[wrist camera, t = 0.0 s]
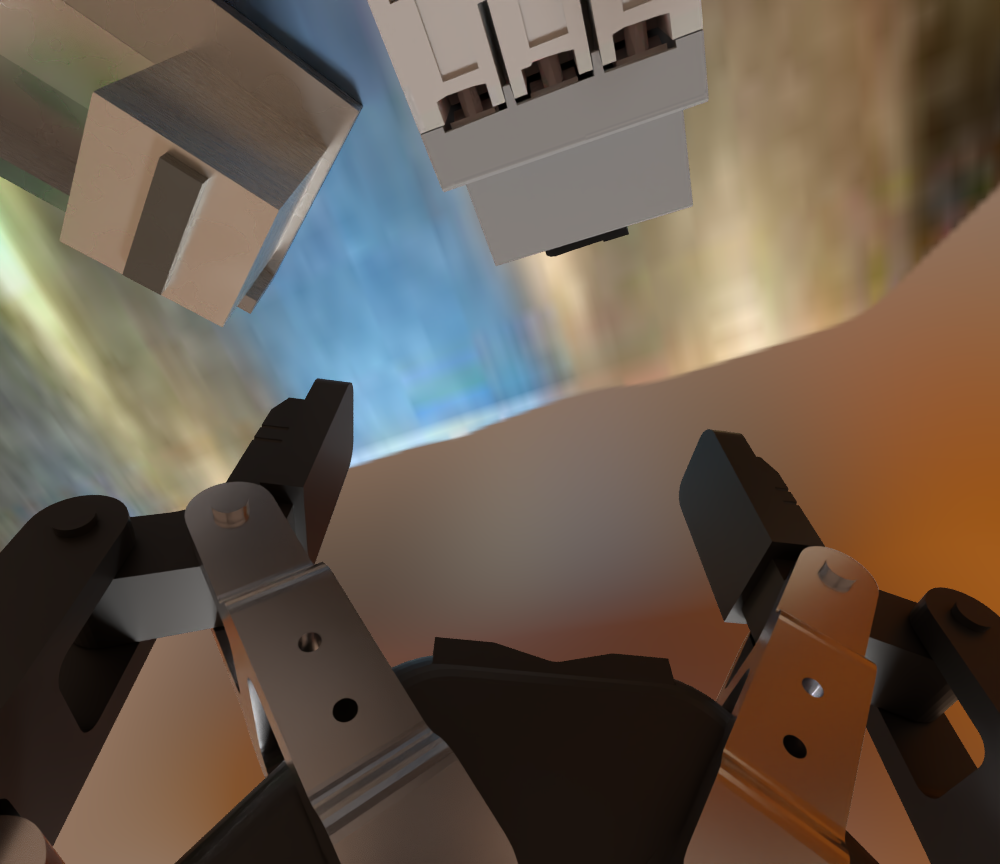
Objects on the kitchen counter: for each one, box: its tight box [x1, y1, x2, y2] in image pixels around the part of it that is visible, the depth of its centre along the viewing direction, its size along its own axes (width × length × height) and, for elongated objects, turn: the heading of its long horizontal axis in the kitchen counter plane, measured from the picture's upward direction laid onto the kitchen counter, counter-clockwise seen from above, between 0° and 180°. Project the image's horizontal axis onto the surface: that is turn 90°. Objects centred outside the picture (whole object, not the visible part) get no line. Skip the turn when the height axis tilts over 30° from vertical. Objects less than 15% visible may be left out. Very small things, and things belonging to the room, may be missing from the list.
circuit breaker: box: [367, 0, 708, 266], centre depth 20 cm, size 8×14×15 cm, turn 19°
